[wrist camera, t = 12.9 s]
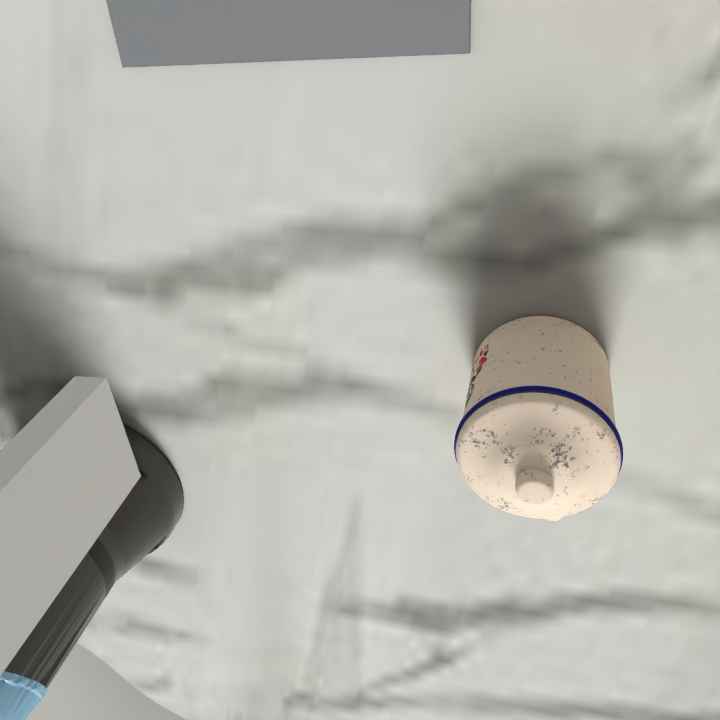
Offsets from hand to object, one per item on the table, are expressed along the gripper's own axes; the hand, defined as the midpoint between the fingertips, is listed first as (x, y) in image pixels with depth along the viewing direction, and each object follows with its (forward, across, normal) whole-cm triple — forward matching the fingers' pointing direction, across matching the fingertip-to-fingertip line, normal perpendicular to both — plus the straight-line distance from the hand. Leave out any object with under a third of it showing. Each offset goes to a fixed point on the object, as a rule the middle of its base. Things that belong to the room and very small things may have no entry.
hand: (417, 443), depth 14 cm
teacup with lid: (+29, -3, +18) cm, 34 cm away
